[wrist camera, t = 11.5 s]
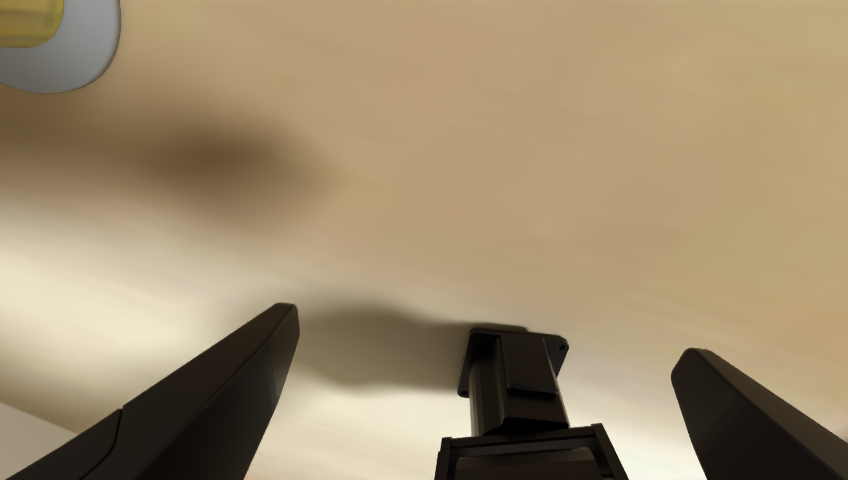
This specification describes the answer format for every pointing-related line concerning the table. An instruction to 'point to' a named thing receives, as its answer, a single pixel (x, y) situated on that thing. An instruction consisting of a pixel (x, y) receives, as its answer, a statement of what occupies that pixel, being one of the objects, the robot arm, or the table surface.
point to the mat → (67, 50)
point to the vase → (29, 22)
